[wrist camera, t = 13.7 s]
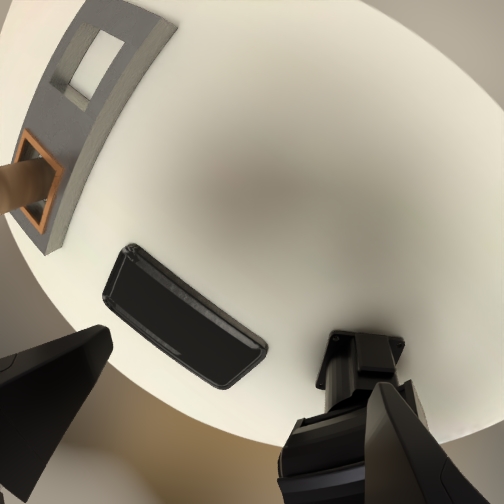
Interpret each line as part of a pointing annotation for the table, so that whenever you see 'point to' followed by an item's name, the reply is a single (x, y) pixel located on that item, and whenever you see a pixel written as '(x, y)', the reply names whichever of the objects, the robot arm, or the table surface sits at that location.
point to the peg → (24, 183)
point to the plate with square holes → (82, 109)
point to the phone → (180, 320)
